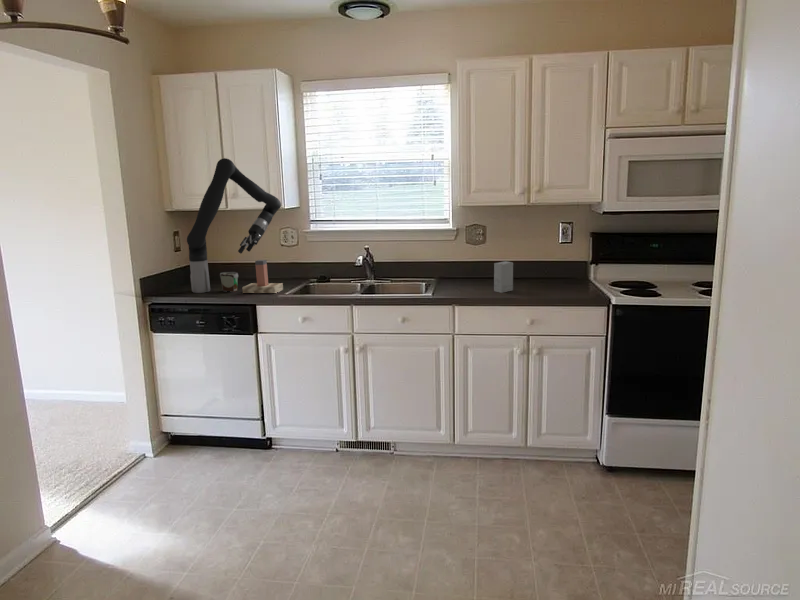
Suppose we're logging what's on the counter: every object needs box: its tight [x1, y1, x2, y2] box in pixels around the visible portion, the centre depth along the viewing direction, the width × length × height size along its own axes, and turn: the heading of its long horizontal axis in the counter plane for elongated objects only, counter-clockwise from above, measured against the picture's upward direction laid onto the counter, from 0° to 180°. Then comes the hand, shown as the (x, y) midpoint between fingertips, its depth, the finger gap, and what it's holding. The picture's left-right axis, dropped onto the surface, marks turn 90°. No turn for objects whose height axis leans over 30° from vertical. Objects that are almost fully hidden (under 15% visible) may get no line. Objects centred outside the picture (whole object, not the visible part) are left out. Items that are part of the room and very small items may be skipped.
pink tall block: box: [254, 259, 269, 286], centre depth 302 cm, size 4×4×17 cm
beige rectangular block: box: [242, 282, 284, 294], centre depth 304 cm, size 18×12×4 cm, turn 81°
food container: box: [219, 271, 239, 293], centre depth 309 cm, size 12×6×10 cm, turn 56°
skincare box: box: [493, 260, 514, 294], centre depth 285 cm, size 8×6×15 cm
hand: (243, 251), depth 295 cm, fingers open, 8 cm apart
